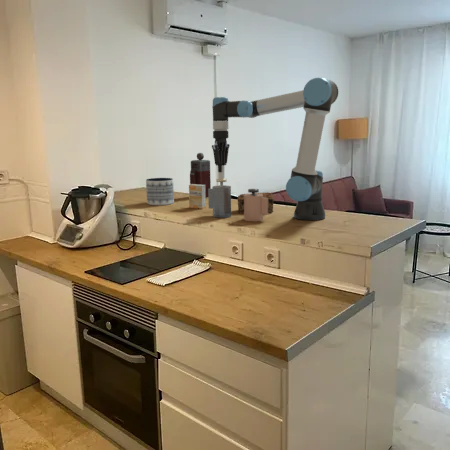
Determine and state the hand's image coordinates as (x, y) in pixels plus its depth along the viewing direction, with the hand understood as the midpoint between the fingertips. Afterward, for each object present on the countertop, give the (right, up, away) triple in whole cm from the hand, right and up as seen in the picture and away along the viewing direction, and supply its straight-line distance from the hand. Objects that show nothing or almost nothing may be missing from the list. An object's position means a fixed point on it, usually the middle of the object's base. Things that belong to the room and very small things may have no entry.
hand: (221, 178), depth 231 cm
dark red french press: (-14, -5, +68) cm, 70 cm away
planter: (-37, -10, +46) cm, 60 cm away
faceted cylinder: (-1, -18, +5) cm, 19 cm away
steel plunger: (0, -13, +3) cm, 13 cm away
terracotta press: (+17, -20, -6) cm, 27 cm away
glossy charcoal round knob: (+16, -17, -6) cm, 24 cm away
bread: (+18, -16, +16) cm, 29 cm away
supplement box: (-13, -14, +29) cm, 34 cm away
